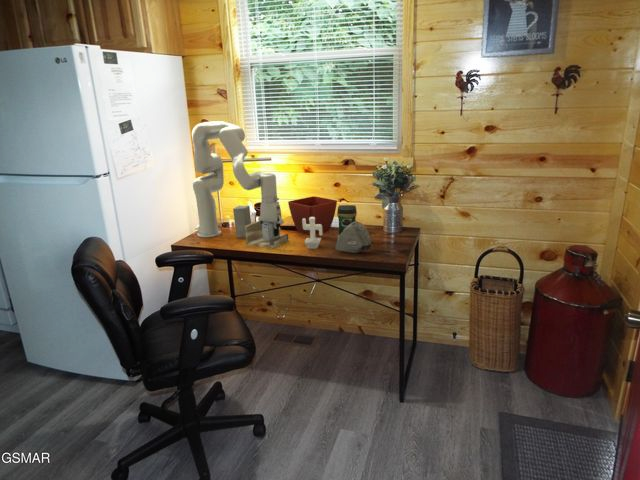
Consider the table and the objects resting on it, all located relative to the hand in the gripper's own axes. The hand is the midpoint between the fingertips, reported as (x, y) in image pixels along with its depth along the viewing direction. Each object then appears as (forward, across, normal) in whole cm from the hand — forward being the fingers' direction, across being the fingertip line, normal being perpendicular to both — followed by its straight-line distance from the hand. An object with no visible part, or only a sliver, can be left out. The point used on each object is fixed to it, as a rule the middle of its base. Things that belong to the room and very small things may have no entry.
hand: (271, 234), depth 232 cm
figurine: (+5, -22, -3) cm, 23 cm away
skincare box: (+5, +22, -5) cm, 23 cm away
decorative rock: (+5, -43, -4) cm, 44 cm away
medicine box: (+2, 0, 0) cm, 2 cm away
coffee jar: (+5, -33, -18) cm, 38 cm away
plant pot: (+5, -8, -27) cm, 29 cm away
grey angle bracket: (+5, +3, 0) cm, 5 cm away
